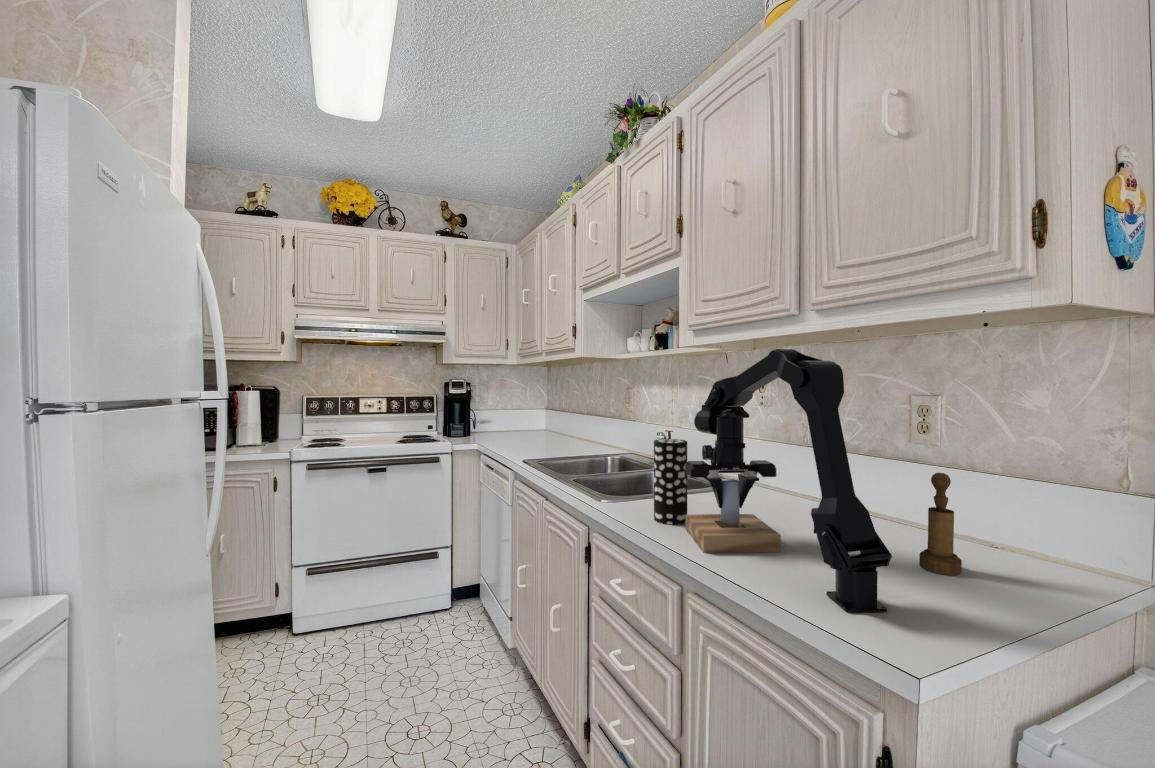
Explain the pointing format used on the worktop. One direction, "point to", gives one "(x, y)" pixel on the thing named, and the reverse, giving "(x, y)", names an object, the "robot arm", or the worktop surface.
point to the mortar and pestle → (940, 533)
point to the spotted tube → (670, 481)
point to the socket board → (732, 534)
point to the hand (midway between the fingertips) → (730, 507)
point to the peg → (730, 501)
